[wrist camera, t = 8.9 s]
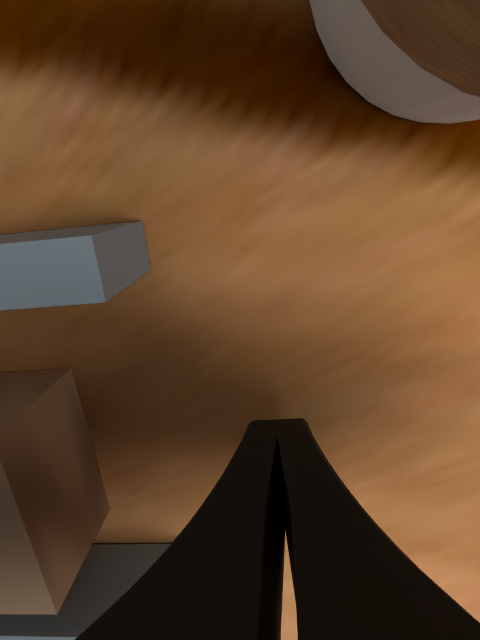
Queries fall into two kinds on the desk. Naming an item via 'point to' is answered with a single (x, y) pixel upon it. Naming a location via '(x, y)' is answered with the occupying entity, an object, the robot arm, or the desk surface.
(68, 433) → the walnut block
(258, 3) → the desk surface
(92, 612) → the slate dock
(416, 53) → the coffee cup
